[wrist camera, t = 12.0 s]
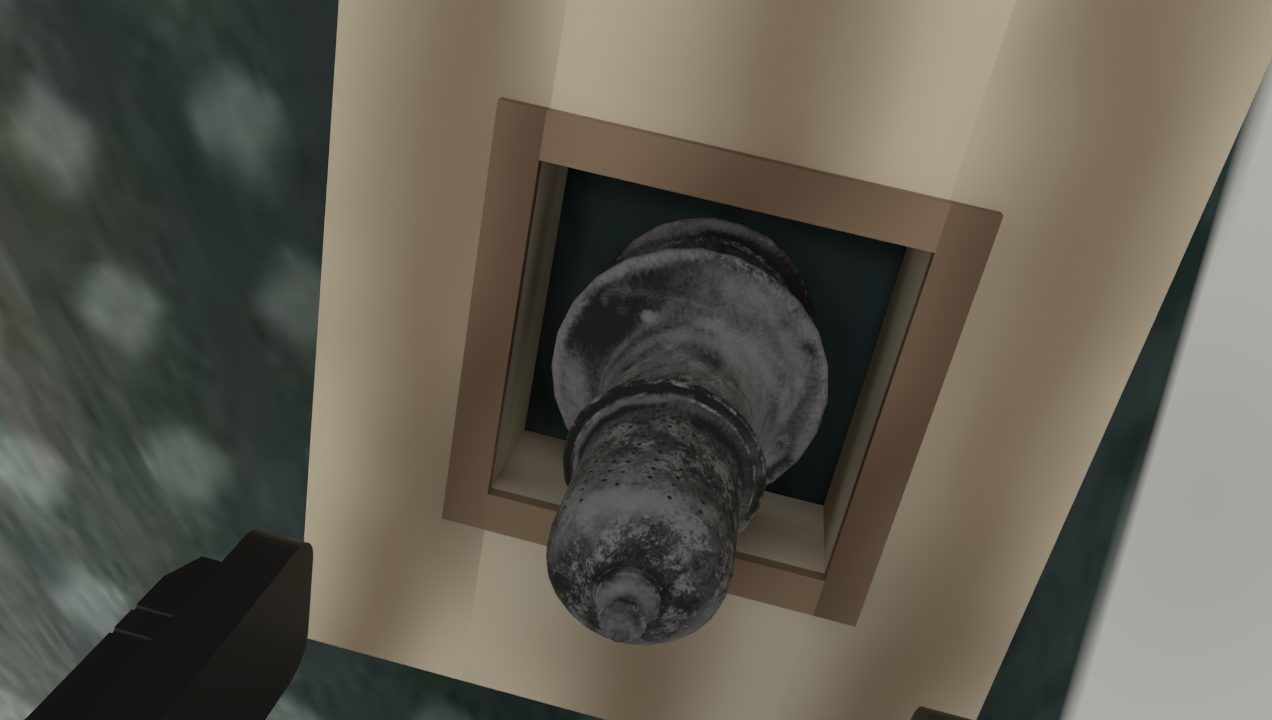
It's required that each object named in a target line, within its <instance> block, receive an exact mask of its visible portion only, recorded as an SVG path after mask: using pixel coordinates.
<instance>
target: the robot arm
mask: <svg viewBox="0 0 1272 720" xmlns="http://www.w3.org/2000/svg"><path fill="white" fill-rule="evenodd" d="M312 569H313V548H312V545H311V544H310V543H308V542H304V541H300V540H296V539H293V538H289V537H285V536H281V535H277V534H274V533H270V532H266V531H262V530H258V529H254V530H252V531H250V532H249V533H248V534H247V535H246V536H245V537H244V538H243V539H242V540H241V541H240V542H239V543H238V544H237V545H236V547H235V548H234V549H233V550H232V551H231V552H230V553H229V554H228V555H227V557H226V558H225V559H224V560H223V561H222V562H221V561H217V560H213V559H209V558H206V557H200V558H198V559H196V560H194V561H192V562H191V563H189V564H187V565H185V566H183V567H181V568H179V569H177V570H175V571H173V572H171V573H169V574H167V575H166V576H164V577H163V578H162V579H161V580H160V581H159V582H158V583H157V584H156V585H155V586H154V587H153V588H152V589H151V590H150V591H149V592H148V593H147V594H146V595H145V596H144V597H143V598H142V599H141V600H140V601H139V602H138V603H137V606H136V609H135V610H131V611H130V612H129V613H128V614H127V615H126V616H125V617H124V618H123V619H122V620H121V621H120V622H119V623H118V624H117V625H116V626H115V629H114V632H113V633H108V634H107V636H106V637H105V638H104V639H103V640H102V641H101V642H100V643H99V644H98V645H97V646H96V647H95V648H94V649H93V650H92V651H91V652H90V653H89V654H88V655H87V656H86V657H85V658H84V659H83V660H82V661H81V662H80V663H79V664H78V665H77V666H76V668H75V669H74V670H73V671H72V672H71V673H70V674H69V675H68V676H67V677H66V678H65V679H64V680H63V681H62V682H61V683H60V684H59V685H58V686H57V687H56V688H55V689H54V690H53V691H52V692H51V693H50V694H49V695H48V696H47V697H46V699H45V700H44V701H43V702H42V703H41V704H40V705H39V706H38V707H37V708H36V709H35V710H34V711H33V712H32V713H31V714H30V715H29V716H28V717H27V718H26V719H25V720H265V719H266V718H267V716H268V715H269V713H270V712H271V710H272V709H273V707H274V706H275V704H276V703H277V701H278V700H279V698H280V697H281V695H282V694H283V692H284V691H285V689H286V688H287V686H288V685H289V683H290V682H291V680H292V678H293V677H294V675H295V673H296V671H297V669H298V666H299V664H300V661H301V659H302V656H303V653H304V650H305V646H306V642H307V637H308V628H309V613H310V598H311V584H312ZM911 720H972V719H968V718H964V717H961V716H957V715H953V714H949V713H945V712H942V711H938V710H934V709H930V708H926V707H923V706H921V707H919V708H917V709H916V711H915V712H914V714H913V716H912V718H911Z"/></svg>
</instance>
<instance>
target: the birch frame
mask: <svg viewBox="0 0 1272 720" xmlns="http://www.w3.org/2000/svg"><path fill="white" fill-rule="evenodd" d="M1271 58H1272V0H339V8H338V24H337V39H336V54H335V70H334V85H333V101H332V116H331V132H330V147H329V163H328V178H327V194H326V209H325V225H324V240H323V255H322V271H321V286H320V302H319V317H318V333H317V348H316V364H315V379H314V395H313V410H312V425H311V441H310V456H309V472H308V487H307V503H306V518H305V534H304V542H308V543H310V544H311V545H312V548H313V569H312V584H311V598H310V613H309V628H308V637H307V638H308V639H312V640H316V641H319V642H323V643H327V644H330V645H334V646H338V647H341V648H345V649H349V650H352V651H356V652H360V653H363V654H367V655H371V656H374V657H378V658H382V659H385V660H389V661H393V662H396V663H400V664H404V665H407V666H411V667H415V668H418V669H422V670H426V671H429V672H433V673H437V674H440V675H444V676H448V677H451V678H455V679H459V680H462V681H466V682H470V683H473V684H477V685H481V686H484V687H488V688H492V689H495V690H499V691H503V692H506V693H510V694H514V695H517V696H521V697H525V698H528V699H532V700H536V701H539V702H543V703H547V704H550V705H554V706H558V707H561V708H565V709H569V710H572V711H576V712H580V713H583V714H587V715H591V716H594V717H598V718H602V719H605V720H911V718H912V716H913V714H914V712H915V711H916V709H917V708H919V707H921V706H923V707H926V708H930V709H934V710H938V711H942V712H945V713H949V714H953V715H957V716H961V717H964V718H968V719H972V720H976V719H977V717H978V715H979V712H980V710H981V708H982V706H983V703H984V701H985V699H986V697H987V694H988V692H989V690H990V688H991V685H992V683H993V681H994V679H995V676H996V674H997V672H998V670H999V668H1000V665H1001V663H1002V661H1003V659H1004V656H1005V654H1006V652H1007V650H1008V647H1009V645H1010V643H1011V641H1012V638H1013V636H1014V634H1015V632H1016V629H1017V627H1018V625H1019V623H1020V620H1021V618H1022V616H1023V614H1024V612H1025V609H1026V607H1027V605H1028V603H1029V600H1030V598H1031V596H1032V594H1033V591H1034V589H1035V587H1036V585H1037V582H1038V580H1039V578H1040V576H1041V573H1042V571H1043V569H1044V567H1045V564H1046V562H1047V560H1048V558H1049V556H1050V553H1051V551H1052V549H1053V547H1054V544H1055V542H1056V540H1057V538H1058V535H1059V533H1060V531H1061V529H1062V526H1063V524H1064V522H1065V520H1066V517H1067V515H1068V513H1069V511H1070V508H1071V506H1072V504H1073V502H1074V500H1075V497H1076V495H1077V493H1078V491H1079V488H1080V486H1081V484H1082V482H1083V479H1084V477H1085V475H1086V473H1087V470H1088V468H1089V466H1090V464H1091V461H1092V459H1093V457H1094V455H1095V452H1096V450H1097V448H1098V446H1099V444H1100V441H1101V439H1102V437H1103V435H1104V432H1105V430H1106V428H1107V426H1108V423H1109V421H1110V419H1111V417H1112V414H1113V412H1114V410H1115V408H1116V405H1117V403H1118V401H1119V399H1120V396H1121V394H1122V392H1123V390H1124V388H1125V385H1126V383H1127V381H1128V379H1129V376H1130V374H1131V372H1132V370H1133V367H1134V365H1135V363H1136V361H1137V358H1138V356H1139V354H1140V352H1141V349H1142V347H1143V345H1144V343H1145V340H1146V338H1147V336H1148V334H1149V332H1150V329H1151V327H1152V325H1153V323H1154V320H1155V318H1156V316H1157V314H1158V311H1159V309H1160V307H1161V305H1162V302H1163V300H1164V298H1165V296H1166V293H1167V291H1168V289H1169V287H1170V284H1171V282H1172V280H1173V278H1174V276H1175V273H1176V271H1177V269H1178V267H1179V264H1180V262H1181V260H1182V258H1183V255H1184V253H1185V251H1186V249H1187V246H1188V244H1189V242H1190V240H1191V237H1192V235H1193V233H1194V231H1195V228H1196V226H1197V224H1198V222H1199V220H1200V217H1201V215H1202V213H1203V211H1204V208H1205V206H1206V204H1207V202H1208V199H1209V197H1210V195H1211V193H1212V190H1213V188H1214V186H1215V184H1216V181H1217V179H1218V177H1219V175H1220V173H1221V170H1222V168H1223V166H1224V164H1225V161H1226V159H1227V157H1228V155H1229V152H1230V150H1231V148H1232V146H1233V143H1234V141H1235V139H1236V137H1237V134H1238V132H1239V130H1240V128H1241V125H1242V123H1243V121H1244V119H1245V117H1246V114H1247V112H1248V110H1249V108H1250V105H1251V103H1252V101H1253V99H1254V96H1255V94H1256V92H1257V90H1258V87H1259V85H1260V83H1261V81H1262V78H1263V76H1264V74H1265V72H1266V69H1267V67H1268V65H1269V63H1270V61H1271ZM568 167H570V168H574V169H578V170H583V171H587V172H591V173H595V174H600V175H604V176H608V177H612V178H617V179H621V180H625V181H630V182H634V183H638V184H642V185H647V186H651V187H655V188H659V189H664V190H668V191H672V192H676V193H681V194H685V195H689V196H694V197H698V198H702V199H706V200H711V201H715V202H719V203H723V204H728V205H732V206H736V207H740V208H745V209H749V210H753V211H758V212H762V213H766V214H770V215H775V216H779V217H783V218H787V219H792V220H796V221H800V222H805V223H809V224H813V225H817V226H822V227H826V228H830V229H834V230H839V231H843V232H847V233H851V234H856V235H860V236H864V237H869V238H873V239H877V240H881V241H886V242H890V243H894V244H898V245H903V246H907V248H906V251H905V254H904V257H903V261H902V264H901V267H900V270H899V273H898V276H897V279H896V282H895V285H894V288H893V292H892V295H891V298H890V301H889V304H888V307H887V310H886V313H885V316H884V319H883V323H882V326H881V329H880V332H879V335H878V338H877V341H876V344H875V347H874V350H873V354H872V357H871V360H870V363H869V366H868V369H867V372H866V375H865V378H864V381H863V385H862V388H861V391H860V394H859V397H858V400H857V403H856V406H855V409H854V412H853V416H852V419H851V422H850V425H849V428H848V431H847V434H846V437H845V440H844V443H843V447H842V450H841V453H840V456H839V459H838V462H837V465H836V468H835V471H834V474H833V478H832V481H831V484H830V487H829V490H828V493H827V496H826V499H825V502H824V505H819V504H815V503H811V502H807V501H803V500H799V499H795V498H791V497H787V496H783V495H779V494H775V493H771V492H767V491H764V494H763V498H762V501H761V504H760V507H759V510H758V511H757V513H756V514H755V515H754V517H753V518H752V520H751V521H750V523H749V524H748V526H747V527H746V528H745V529H744V530H743V531H741V532H740V533H739V534H738V536H737V545H736V553H735V561H734V569H733V576H732V579H731V583H730V586H729V589H728V592H727V595H726V597H725V599H724V601H723V603H722V604H721V606H720V607H719V609H718V610H717V611H716V613H715V614H714V616H713V617H712V618H711V620H710V621H709V622H707V623H706V624H705V625H704V626H702V627H701V628H700V629H698V630H697V631H696V632H694V633H692V634H690V635H687V636H685V637H682V638H680V639H678V640H675V641H671V642H667V643H661V644H654V645H632V644H625V643H621V642H620V643H617V642H614V641H613V640H610V639H607V638H605V637H603V636H601V635H599V634H597V633H595V632H593V631H591V630H589V629H588V628H587V627H586V626H584V625H583V624H582V623H581V622H579V621H578V620H577V619H576V618H574V617H573V616H572V615H571V614H570V613H569V611H568V610H567V609H566V608H565V606H564V605H563V604H562V602H561V601H560V600H559V598H558V597H557V596H556V594H555V592H554V589H553V587H552V584H551V582H550V580H549V577H548V569H547V560H546V551H547V542H548V538H549V533H550V528H551V525H552V523H553V520H554V518H555V516H556V514H557V511H558V509H559V507H560V504H561V502H562V500H563V497H564V495H565V493H566V491H567V488H568V487H567V485H566V482H565V479H564V469H563V459H562V457H563V452H564V447H565V442H566V440H563V439H559V438H555V437H551V436H547V435H543V434H539V433H535V432H531V431H527V430H525V424H526V418H527V412H528V406H529V400H530V394H531V388H532V382H533V376H534V370H535V364H536V358H537V352H538V346H539V340H540V334H541V328H542V322H543V316H544V310H545V304H546V298H547V292H548V286H549V280H550V274H551V268H552V262H553V256H554V250H555V244H556V238H557V232H558V226H559V220H560V214H561V208H562V202H563V196H564V190H565V185H566V179H567V173H568Z"/></svg>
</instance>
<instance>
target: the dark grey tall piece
mask: <svg viewBox="0 0 1272 720" xmlns="http://www.w3.org/2000/svg"><path fill="white" fill-rule="evenodd" d="M552 374H553V385H554V395H555V399H556V401H557V404H558V407H559V409H560V412H561V415H562V417H563V420H564V422H565V425H566V427H567V429H568V430H569V432H568V434H567V437H566V442H565V447H564V452H563V457H562V459H563V469H564V479H565V482H566V485H567V487H568V488H567V491H566V493H565V495H564V497H563V500H562V502H561V504H560V507H559V509H558V511H557V514H556V516H555V518H554V520H553V523H552V525H551V528H550V533H549V538H548V542H547V551H546V560H547V569H548V577H549V580H550V582H551V584H552V587H553V589H554V592H555V594H556V596H557V597H558V598H559V600H560V601H561V602H562V604H563V605H564V606H565V608H566V609H567V610H568V611H569V613H570V614H571V615H572V616H573V617H574V618H576V619H577V620H578V621H579V622H581V623H582V624H583V625H584V626H586V627H587V628H588V629H589V630H591V631H593V632H595V633H597V634H599V635H601V636H603V637H605V638H607V639H610V640H613V641H614V642H617V643H620V642H621V643H625V644H632V645H654V644H661V643H667V642H671V641H675V640H678V639H680V638H682V637H685V636H687V635H690V634H692V633H694V632H696V631H697V630H698V629H700V628H701V627H702V626H704V625H705V624H706V623H707V622H709V621H710V620H711V618H712V617H713V616H714V614H715V613H716V611H717V610H718V609H719V607H720V606H721V604H722V603H723V601H724V599H725V597H726V595H727V592H728V589H729V586H730V583H731V579H732V576H733V569H734V561H735V553H736V545H737V536H738V534H739V533H740V532H741V531H743V530H744V529H745V528H746V527H747V526H748V524H749V523H750V521H751V520H752V518H753V517H754V515H755V514H756V513H757V511H758V510H759V507H760V504H761V501H762V498H763V494H764V491H765V488H766V485H767V484H769V483H771V482H773V481H774V480H776V479H777V478H778V477H779V476H780V475H782V474H783V473H784V472H785V471H786V470H788V469H789V468H790V467H791V466H792V465H794V464H795V463H796V462H797V461H798V460H799V459H800V458H801V456H802V455H803V453H804V452H805V450H806V449H807V447H808V446H809V444H810V443H811V441H812V440H813V439H814V437H815V436H816V434H817V432H818V429H819V426H820V423H821V420H822V417H823V414H824V411H825V408H826V405H827V401H828V363H827V360H826V356H825V352H824V349H823V345H822V342H821V338H820V334H819V331H818V330H817V328H816V326H815V325H814V323H813V306H812V303H811V299H810V296H809V292H808V288H807V285H806V282H805V280H804V279H803V277H802V275H801V274H800V272H799V270H798V269H797V267H796V266H795V264H794V262H793V261H792V259H791V258H790V257H789V256H788V255H787V254H786V253H785V252H784V251H783V250H782V249H781V248H780V247H779V246H777V245H776V244H775V243H774V242H773V241H772V240H771V239H770V238H768V237H766V236H765V235H763V234H761V233H759V232H757V231H755V230H754V229H752V228H750V227H748V226H746V225H744V224H741V223H737V222H733V221H728V220H724V219H720V218H716V217H691V218H682V219H679V220H675V221H672V222H668V223H664V224H661V225H658V226H656V227H654V228H652V229H651V230H649V231H647V232H646V233H644V234H642V235H641V236H639V237H637V238H636V239H634V240H633V241H632V242H631V243H630V244H629V245H628V246H627V247H626V248H625V249H624V250H623V251H622V252H621V253H620V254H619V256H618V257H617V258H616V259H615V260H614V262H613V264H612V265H611V267H610V269H608V270H607V271H605V272H603V273H602V274H600V275H598V276H597V277H596V278H595V279H594V280H593V281H592V282H591V283H590V284H589V285H588V286H587V287H586V289H585V290H584V291H583V292H582V293H581V294H580V295H579V296H578V297H577V298H576V299H575V300H574V301H573V303H572V305H571V307H570V309H569V311H568V313H567V315H566V317H565V319H564V321H563V322H562V324H561V326H560V328H559V330H558V333H557V338H556V343H555V348H554V354H553V359H552Z"/></svg>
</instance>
